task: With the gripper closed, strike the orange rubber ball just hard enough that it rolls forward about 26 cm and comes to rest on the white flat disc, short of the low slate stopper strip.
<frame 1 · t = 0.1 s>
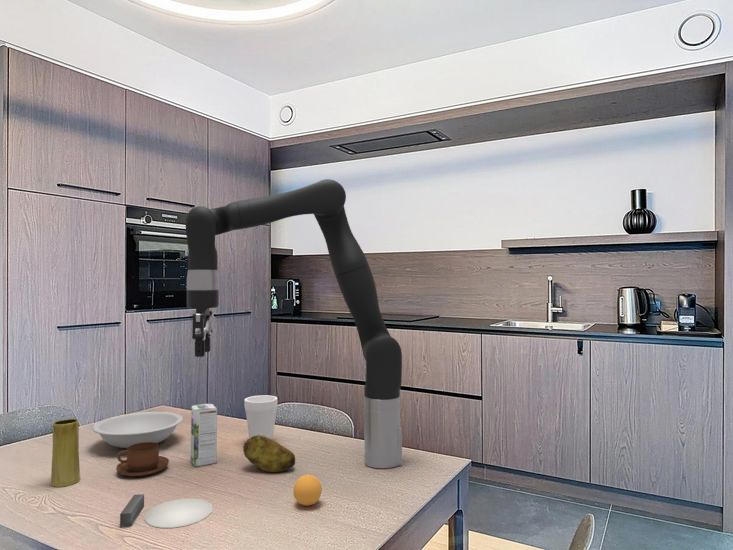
hand: (202, 354, 127), 29 cm above the table, tool pointing down, fingers open, 8 cm apart
white flat disc: (179, 512, 105), on the table
foam cup: (261, 444, 149), on the table
potato: (268, 470, 129), on the table
cup and saucer: (143, 472, 128), on the table
syrup box: (203, 462, 134), on the table
stopper strip: (132, 516, 103), on the table
ball: (307, 490, 108), on the table
soup bowl: (139, 445, 149), on the table
vase: (65, 483, 121), on the table
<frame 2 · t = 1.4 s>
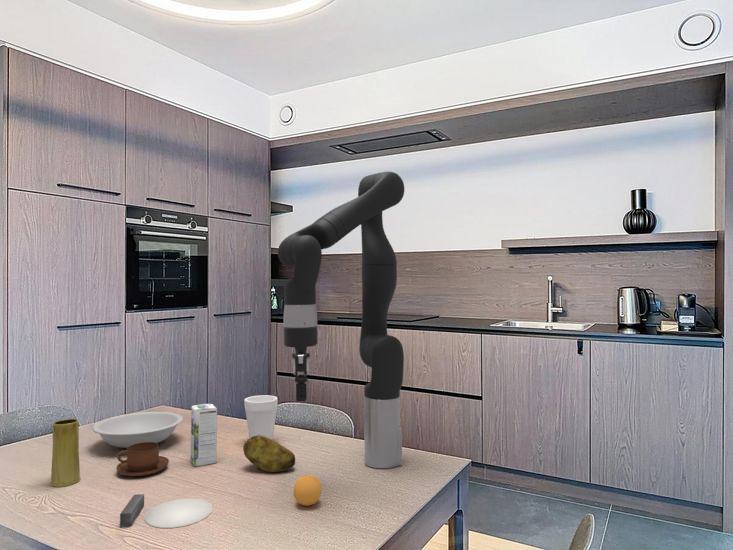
hand: (301, 396, 116), 21 cm above the table, tool pointing down, fingers open, 8 cm apart
nothing on the table moved.
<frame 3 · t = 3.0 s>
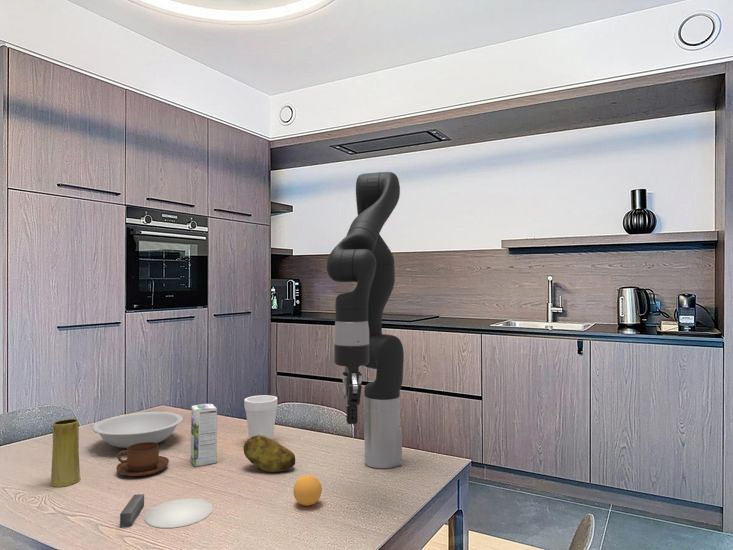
hand: (351, 422, 110), 17 cm above the table, tool pointing down, fingers closed
nothing on the table moved.
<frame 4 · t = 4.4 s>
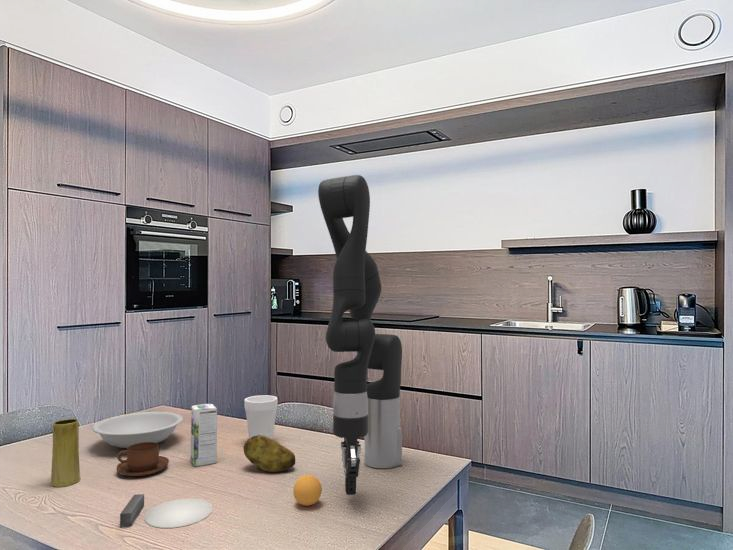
hand: (350, 493, 110), 2 cm above the table, tool pointing down, fingers closed
nothing on the table moved.
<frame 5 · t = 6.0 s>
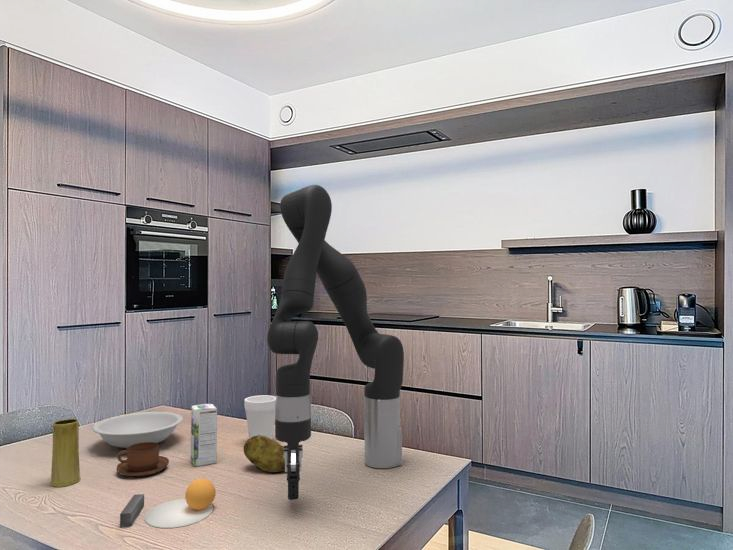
hand: (293, 498, 108), 2 cm above the table, tool pointing down, fingers closed
ball: (200, 494, 107), on the table
everything else where it was.
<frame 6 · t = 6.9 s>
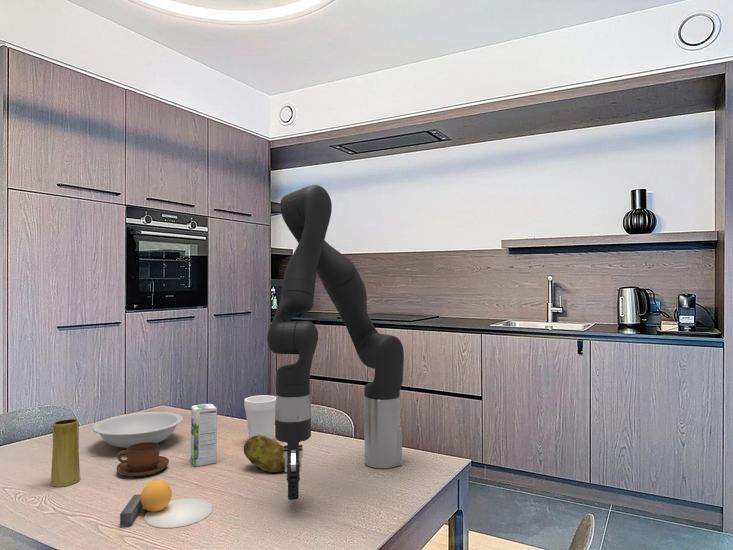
hand: (293, 498, 108), 2 cm above the table, tool pointing down, fingers closed
ball: (156, 495, 106), on the table
everything else where it was.
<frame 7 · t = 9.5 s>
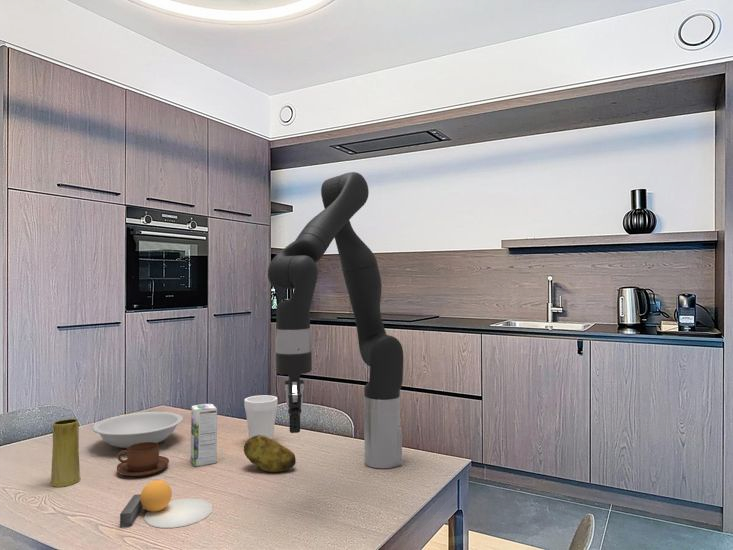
hand: (294, 431, 109), 15 cm above the table, tool pointing down, fingers closed
nothing on the table moved.
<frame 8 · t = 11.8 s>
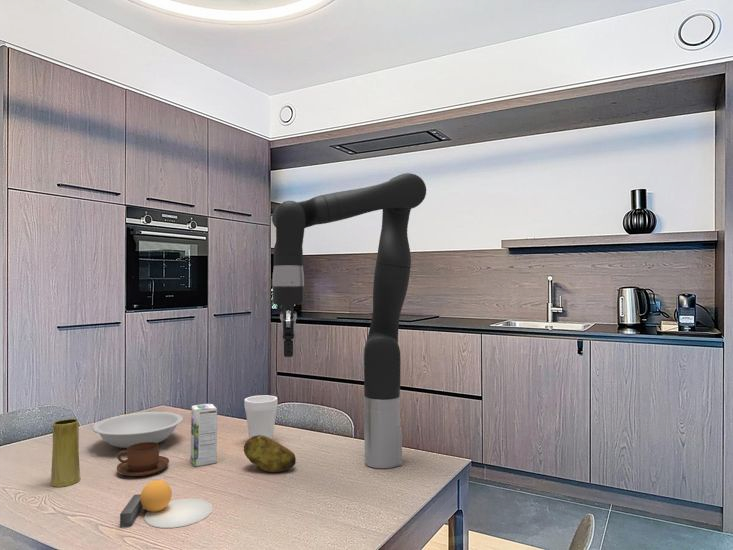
hand: (288, 356, 124), 29 cm above the table, tool pointing down, fingers closed
nothing on the table moved.
at the end: ball 5.3 cm from the white flat disc (horizontally); ball at rest at the end (0.0 cm/s); ball moved 31.0 cm from its start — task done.
